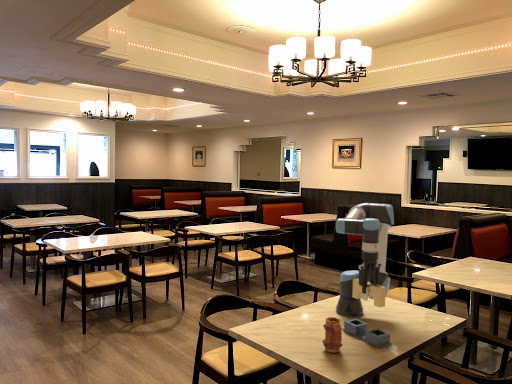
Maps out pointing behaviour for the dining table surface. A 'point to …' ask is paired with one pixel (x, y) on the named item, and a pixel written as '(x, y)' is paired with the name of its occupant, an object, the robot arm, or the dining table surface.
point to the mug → (332, 335)
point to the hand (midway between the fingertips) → (368, 299)
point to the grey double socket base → (367, 333)
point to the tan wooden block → (370, 292)
